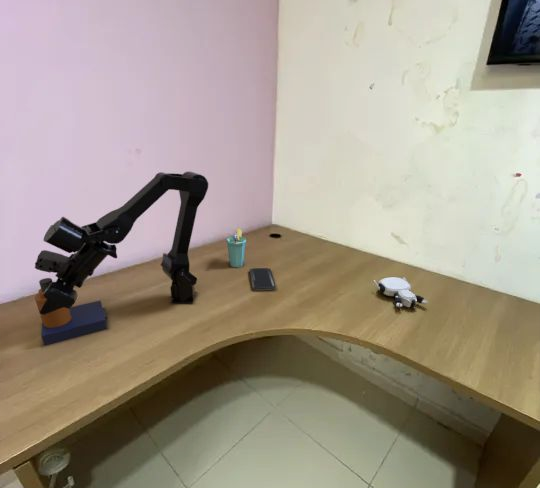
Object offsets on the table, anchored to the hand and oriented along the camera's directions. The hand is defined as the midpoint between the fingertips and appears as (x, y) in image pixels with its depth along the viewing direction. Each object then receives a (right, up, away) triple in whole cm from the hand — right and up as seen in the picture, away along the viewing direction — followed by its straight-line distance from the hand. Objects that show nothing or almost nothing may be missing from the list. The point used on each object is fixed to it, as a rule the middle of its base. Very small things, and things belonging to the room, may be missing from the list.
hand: (46, 304), depth 78 cm
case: (+4, -7, +6) cm, 10 cm away
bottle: (+1, -5, +3) cm, 5 cm away
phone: (+54, +4, +34) cm, 64 cm away
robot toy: (+100, -2, +26) cm, 103 cm away
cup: (+43, +9, +44) cm, 63 cm away
